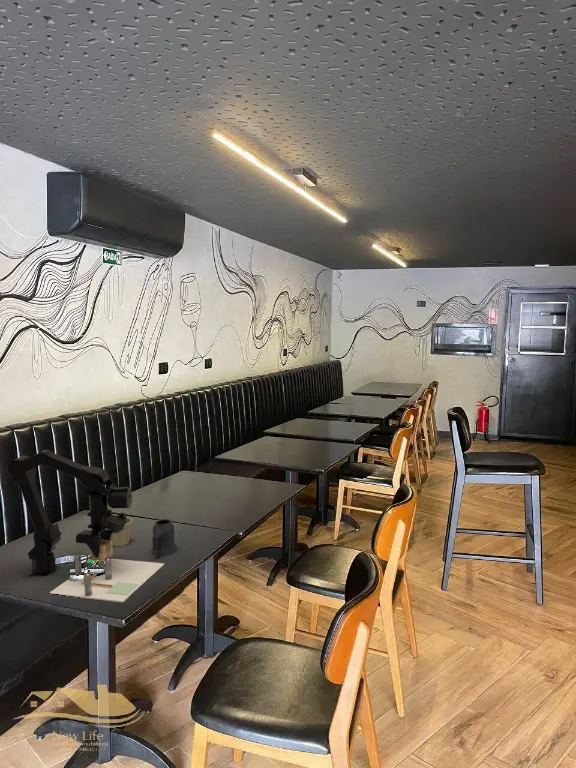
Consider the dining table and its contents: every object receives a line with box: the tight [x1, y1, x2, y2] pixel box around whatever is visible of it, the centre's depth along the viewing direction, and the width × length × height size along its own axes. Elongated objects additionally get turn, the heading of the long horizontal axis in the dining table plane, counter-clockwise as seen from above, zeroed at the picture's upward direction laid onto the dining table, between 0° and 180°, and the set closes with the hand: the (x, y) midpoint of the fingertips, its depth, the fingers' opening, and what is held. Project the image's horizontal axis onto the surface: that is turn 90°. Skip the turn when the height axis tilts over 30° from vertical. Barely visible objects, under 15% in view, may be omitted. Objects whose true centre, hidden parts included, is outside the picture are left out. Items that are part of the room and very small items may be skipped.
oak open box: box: [89, 540, 114, 561], centre depth 182 cm, size 5×5×5 cm
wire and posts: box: [73, 554, 113, 596], centre depth 174 cm, size 10×18×6 cm, turn 31°
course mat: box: [49, 558, 165, 604], centre depth 177 cm, size 25×26×1 cm
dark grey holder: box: [151, 518, 178, 557], centre depth 195 cm, size 12×9×11 cm
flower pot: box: [111, 517, 133, 547], centre depth 205 cm, size 9×9×9 cm
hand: (101, 554), depth 182 cm, fingers closed on oak open box, 5 cm apart
